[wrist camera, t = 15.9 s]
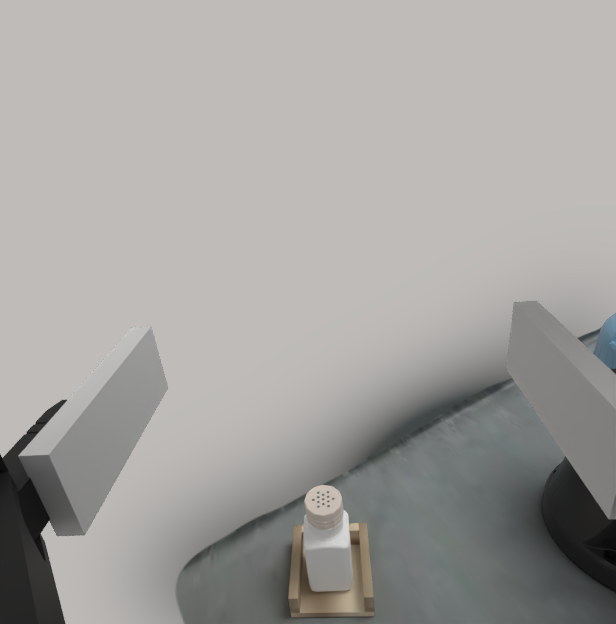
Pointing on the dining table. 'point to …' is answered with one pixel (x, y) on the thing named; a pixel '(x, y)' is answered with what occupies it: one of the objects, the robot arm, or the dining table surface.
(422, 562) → the dining table surface
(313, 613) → the tray
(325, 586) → the pepper shaker
